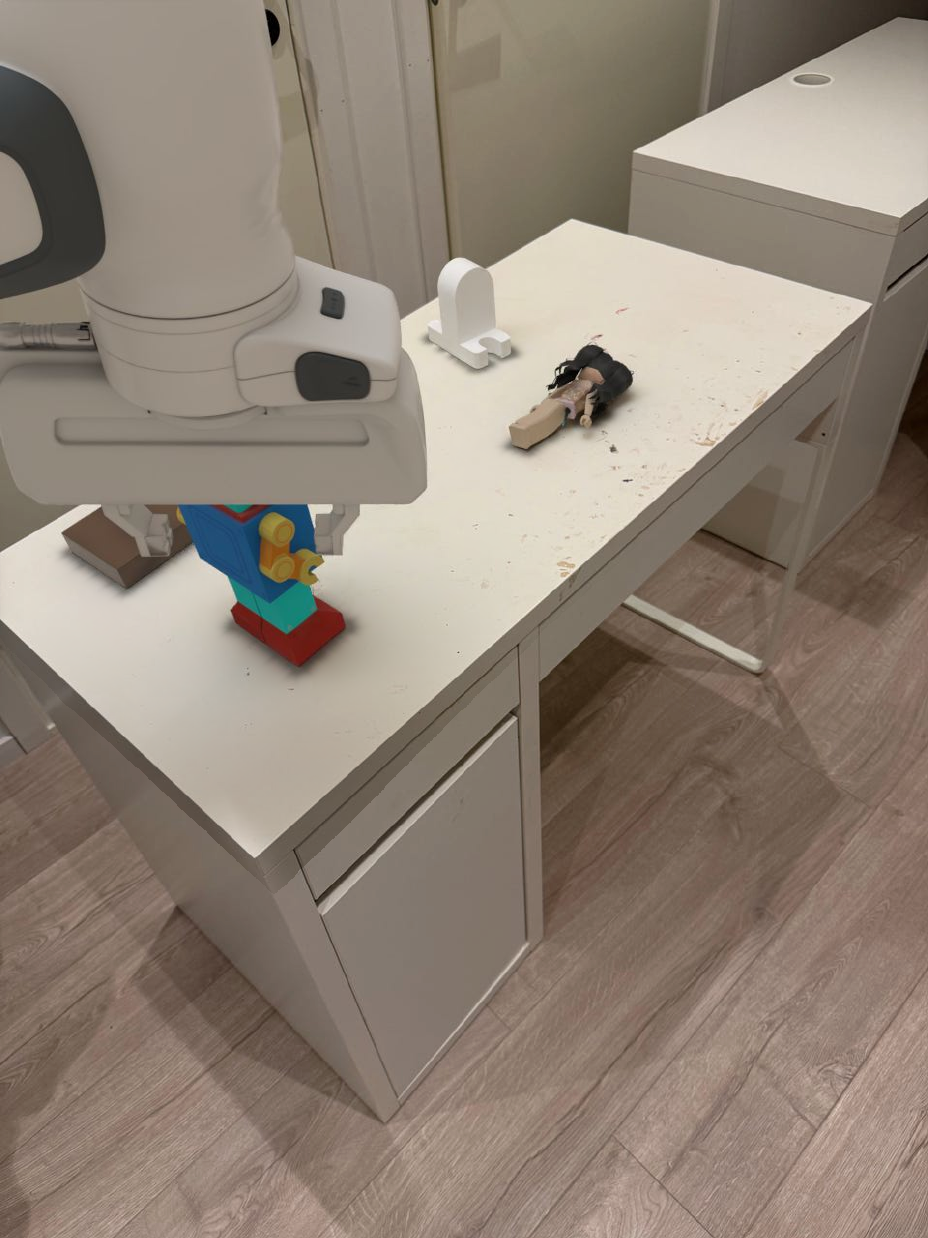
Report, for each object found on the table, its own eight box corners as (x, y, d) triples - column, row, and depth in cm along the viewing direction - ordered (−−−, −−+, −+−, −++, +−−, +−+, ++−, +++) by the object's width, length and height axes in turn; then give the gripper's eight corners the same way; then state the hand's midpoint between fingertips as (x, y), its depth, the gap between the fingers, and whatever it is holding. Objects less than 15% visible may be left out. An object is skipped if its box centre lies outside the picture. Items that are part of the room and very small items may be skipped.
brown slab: (126, 589, 80) (116, 569, 78) (71, 552, 85) (60, 532, 83) (314, 454, 92) (309, 434, 90) (257, 427, 96) (251, 407, 95)
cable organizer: (477, 370, 100) (470, 285, 93) (427, 338, 106) (416, 256, 99) (513, 352, 102) (509, 268, 95) (462, 322, 108) (454, 241, 101)
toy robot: (360, 636, 74) (291, 371, 56) (306, 682, 71) (216, 418, 53) (270, 580, 79) (182, 323, 61) (218, 620, 77) (108, 362, 58)
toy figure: (563, 467, 87) (642, 388, 94) (554, 413, 83) (638, 334, 90) (506, 452, 91) (586, 377, 98) (495, 399, 87) (579, 325, 94)
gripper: (-71, 364, 36) (38, 591, 46) (432, 369, 37) (427, 588, 48) (-25, 283, 40) (66, 509, 51) (428, 290, 41) (424, 509, 52)
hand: (245, 548), depth 49 cm, fingers open, 8 cm apart
